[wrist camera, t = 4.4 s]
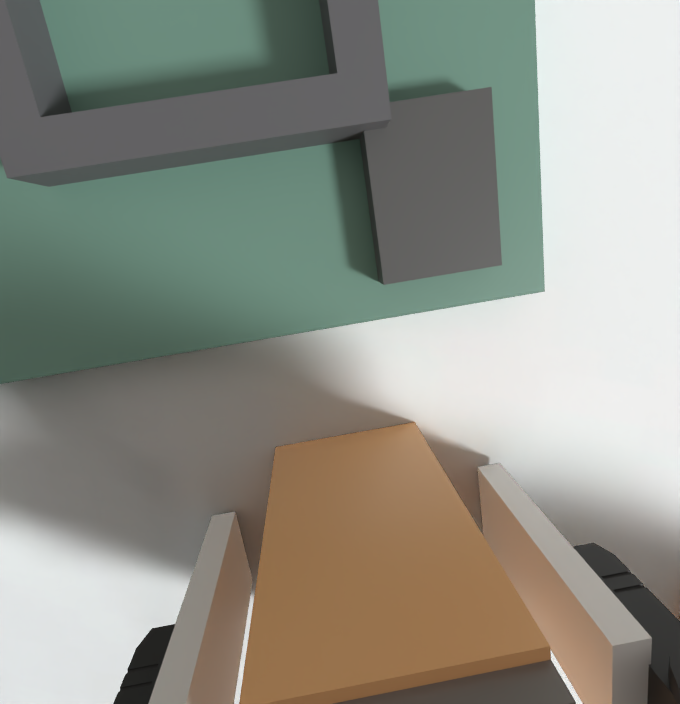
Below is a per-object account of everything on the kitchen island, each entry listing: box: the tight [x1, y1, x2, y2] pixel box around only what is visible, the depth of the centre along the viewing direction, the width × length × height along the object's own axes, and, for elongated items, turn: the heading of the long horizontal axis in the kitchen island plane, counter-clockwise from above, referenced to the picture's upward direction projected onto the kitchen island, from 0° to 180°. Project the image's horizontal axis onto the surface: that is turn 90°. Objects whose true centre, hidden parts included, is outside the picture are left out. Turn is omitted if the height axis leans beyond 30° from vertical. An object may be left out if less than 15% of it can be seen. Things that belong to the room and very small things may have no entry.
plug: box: [239, 422, 576, 704], centre depth 11 cm, size 4×6×9 cm
